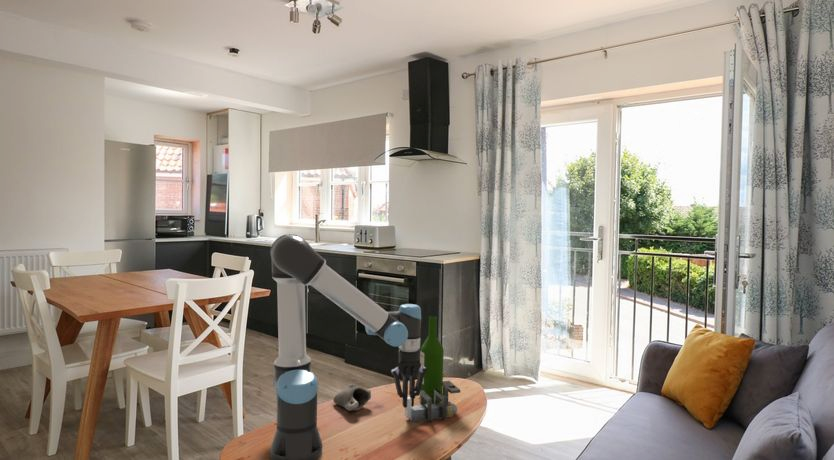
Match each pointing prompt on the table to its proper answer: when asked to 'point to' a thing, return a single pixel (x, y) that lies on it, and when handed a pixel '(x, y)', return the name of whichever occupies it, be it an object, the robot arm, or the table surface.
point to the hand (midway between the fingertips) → (407, 415)
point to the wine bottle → (432, 362)
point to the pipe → (353, 397)
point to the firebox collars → (446, 387)
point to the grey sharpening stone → (421, 411)
